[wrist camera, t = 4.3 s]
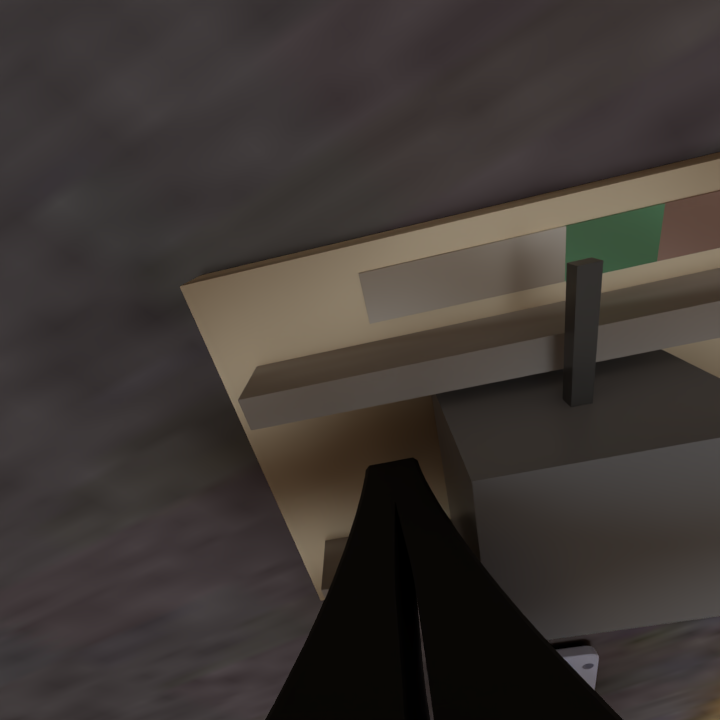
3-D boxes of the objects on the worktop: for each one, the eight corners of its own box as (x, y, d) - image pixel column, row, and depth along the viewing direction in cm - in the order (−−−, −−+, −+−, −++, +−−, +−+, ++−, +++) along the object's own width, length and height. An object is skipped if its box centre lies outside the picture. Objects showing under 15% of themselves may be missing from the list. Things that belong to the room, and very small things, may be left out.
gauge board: (835, 485, 12) (957, 559, 10) (323, 569, 14) (316, 651, 11) (1033, 77, 7) (1385, 16, 5) (200, 275, 9) (140, 306, 6)
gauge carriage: (616, 487, 10) (730, 615, 7) (450, 515, 11) (490, 647, 8) (650, 217, 7) (883, 234, 4) (412, 271, 8) (454, 326, 4)
